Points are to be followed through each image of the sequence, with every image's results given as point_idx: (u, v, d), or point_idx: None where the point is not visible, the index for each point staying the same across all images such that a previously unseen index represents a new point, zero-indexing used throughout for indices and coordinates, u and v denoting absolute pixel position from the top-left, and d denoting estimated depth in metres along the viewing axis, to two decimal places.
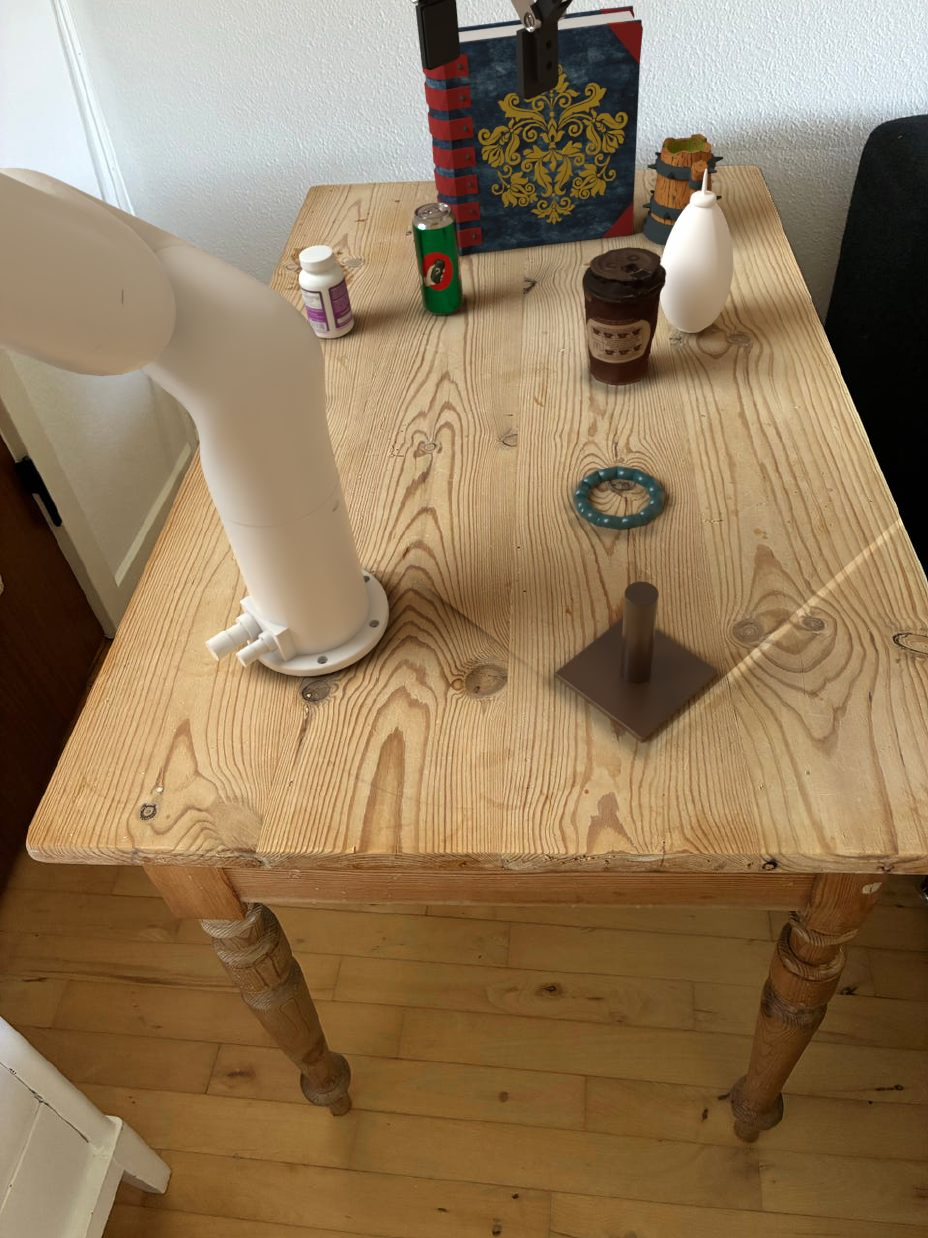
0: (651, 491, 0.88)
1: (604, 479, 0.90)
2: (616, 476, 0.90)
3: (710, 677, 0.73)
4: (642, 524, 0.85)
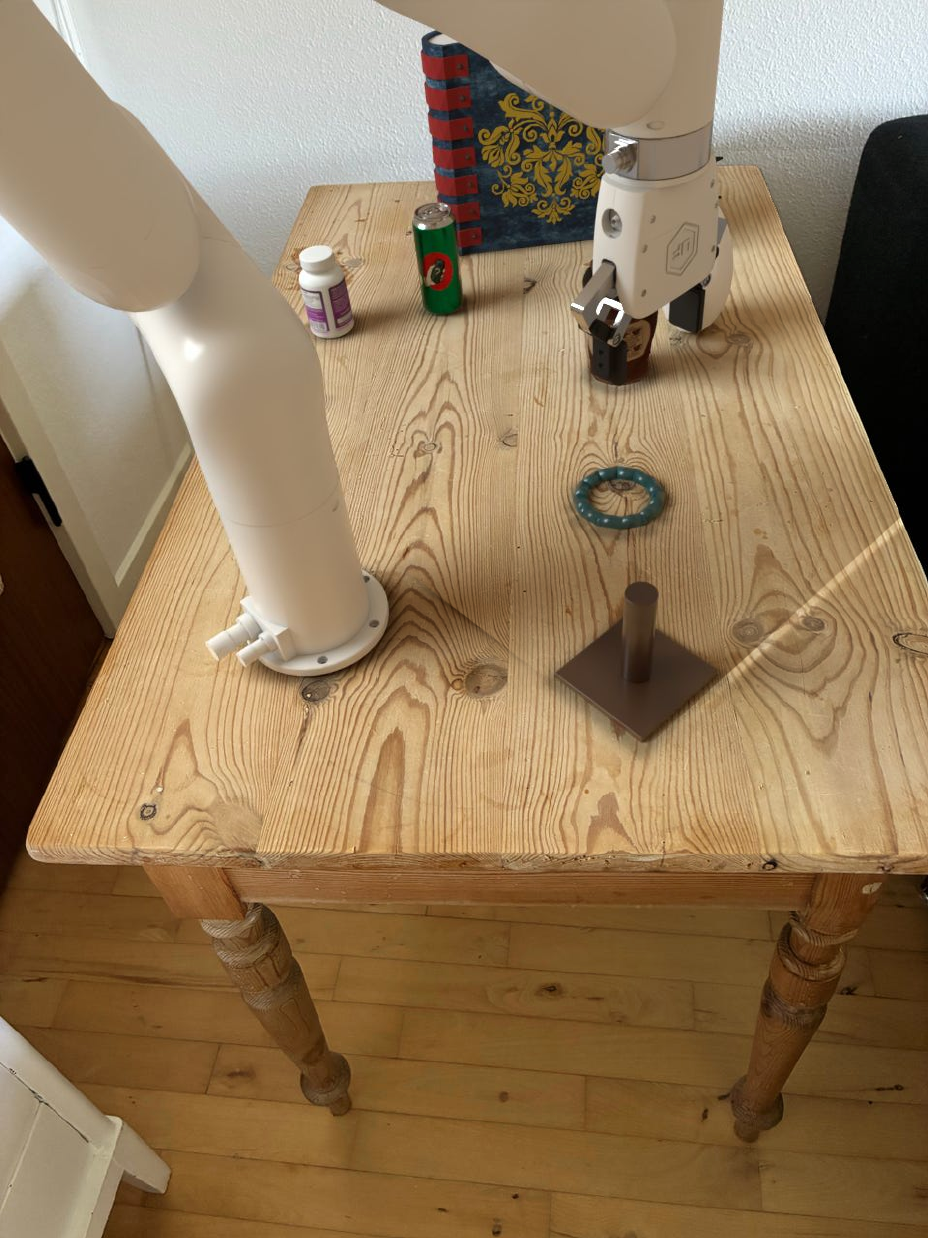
0: (651, 491, 0.88)
1: (604, 479, 0.90)
2: (616, 476, 0.90)
3: (710, 677, 0.73)
4: (642, 524, 0.85)
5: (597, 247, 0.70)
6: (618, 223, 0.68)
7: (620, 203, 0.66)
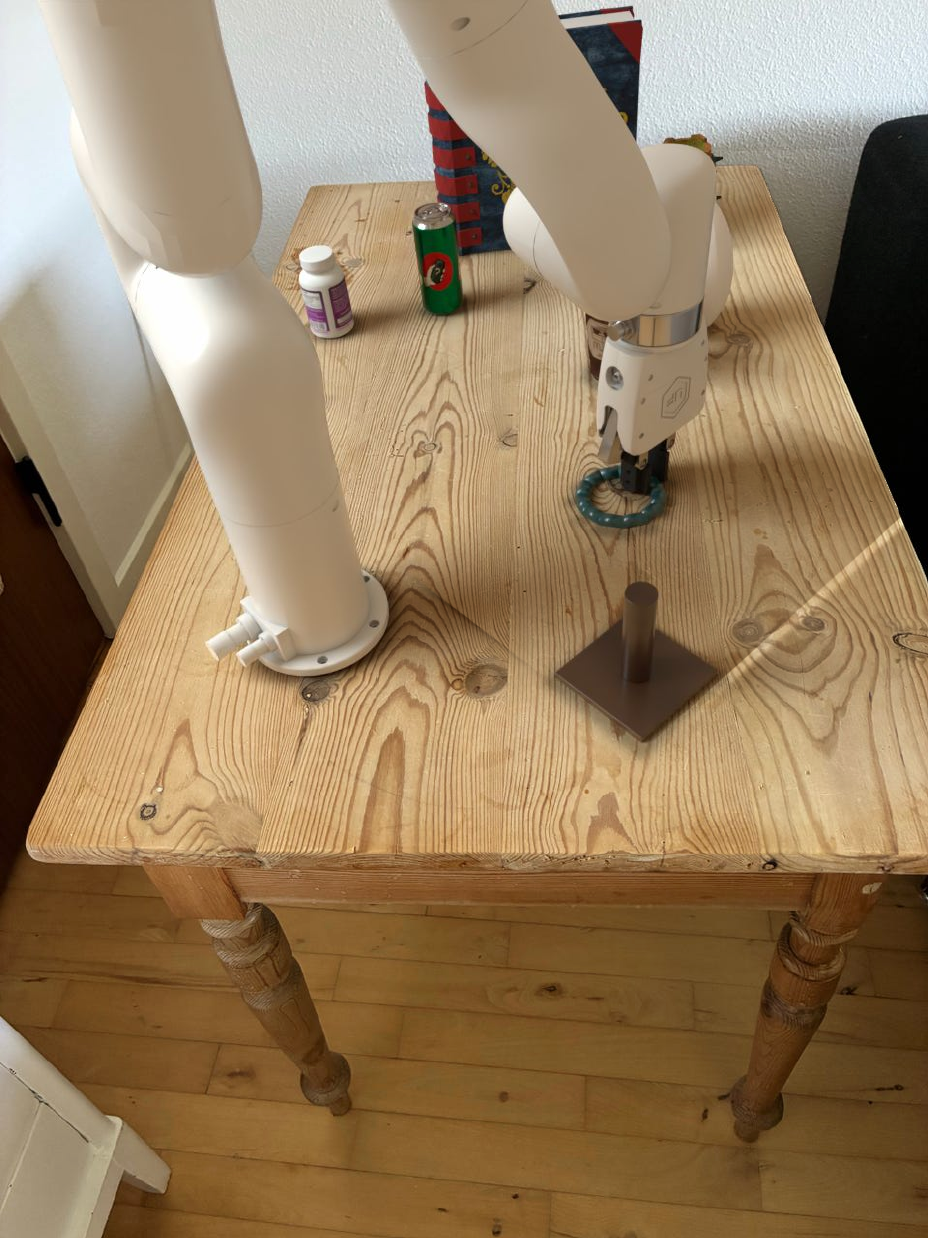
0: (652, 490, 0.88)
1: (605, 478, 0.90)
2: (617, 475, 0.90)
3: (710, 677, 0.73)
4: (643, 523, 0.86)
5: (601, 395, 0.80)
6: (620, 378, 0.77)
7: (622, 363, 0.76)
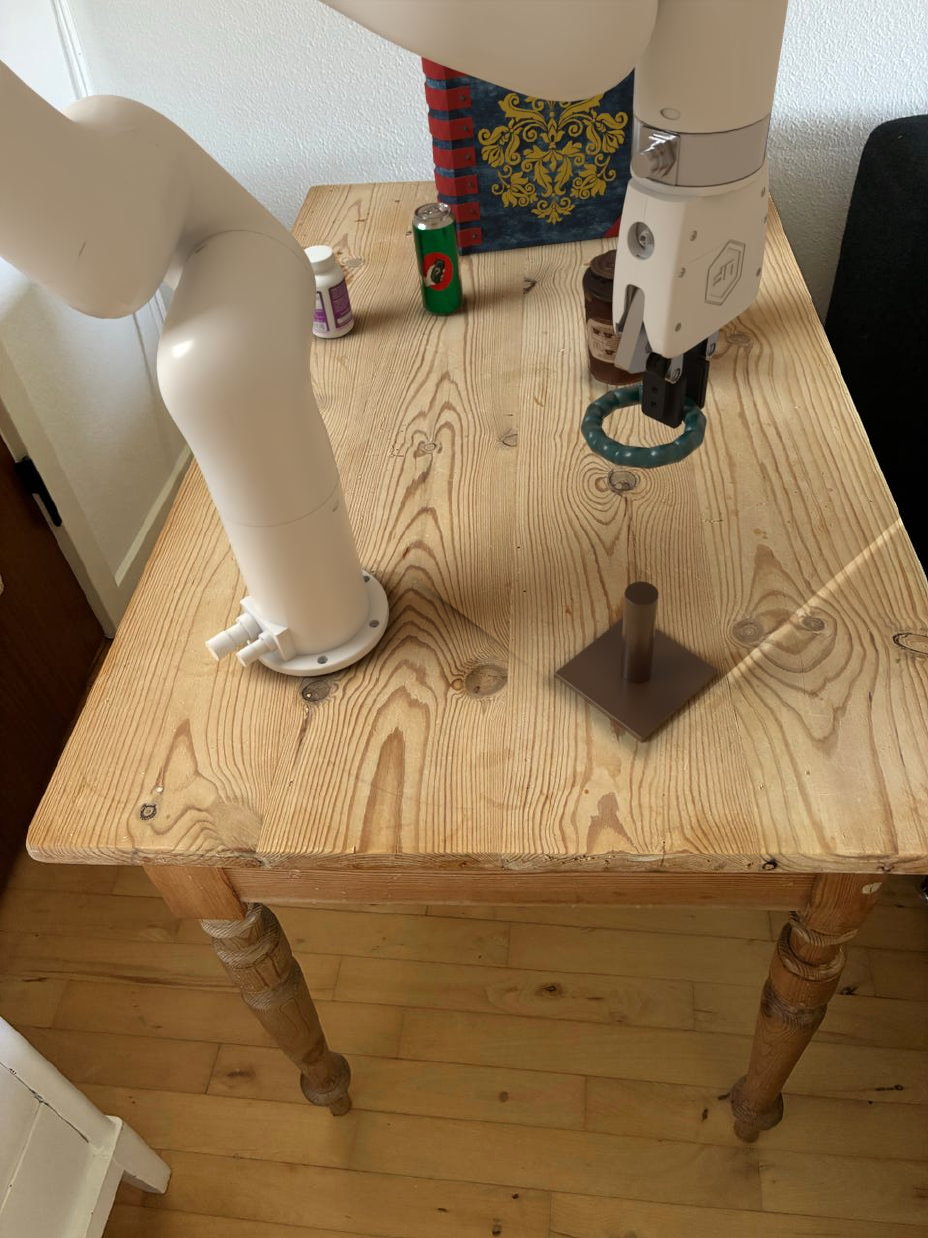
0: (687, 414, 0.65)
1: (622, 402, 0.67)
2: (638, 397, 0.67)
3: (710, 677, 0.73)
4: (678, 457, 0.62)
5: (620, 270, 0.56)
6: (649, 240, 0.54)
7: (653, 215, 0.53)
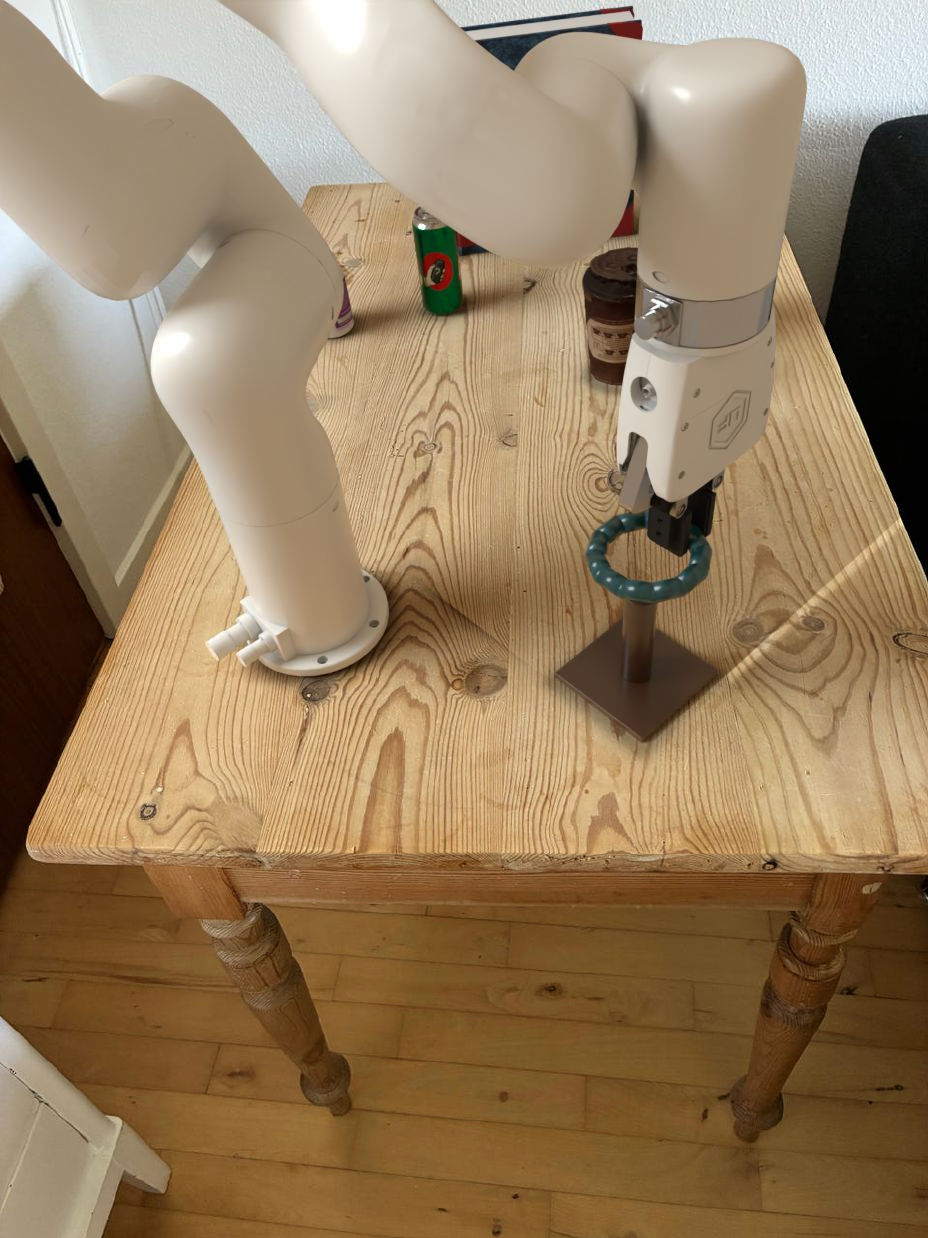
0: (692, 545, 0.64)
1: (627, 527, 0.66)
2: (643, 523, 0.66)
3: (710, 677, 0.73)
4: (681, 593, 0.62)
5: (624, 417, 0.56)
6: (652, 394, 0.54)
7: (655, 373, 0.52)
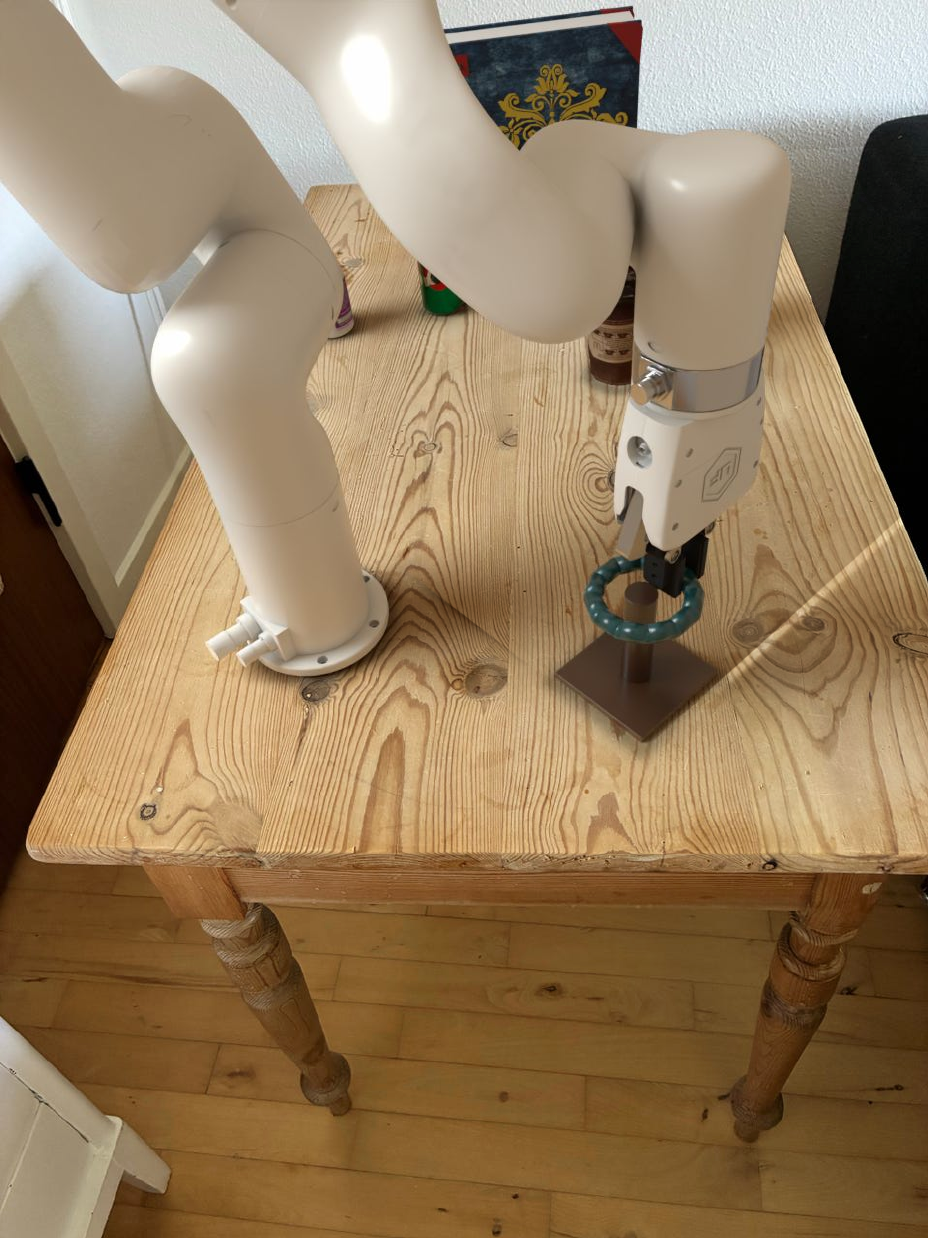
0: (686, 587, 0.67)
1: (624, 569, 0.69)
2: (639, 565, 0.69)
3: (710, 677, 0.73)
4: (675, 635, 0.65)
5: (621, 472, 0.59)
6: (647, 452, 0.57)
7: (651, 434, 0.55)
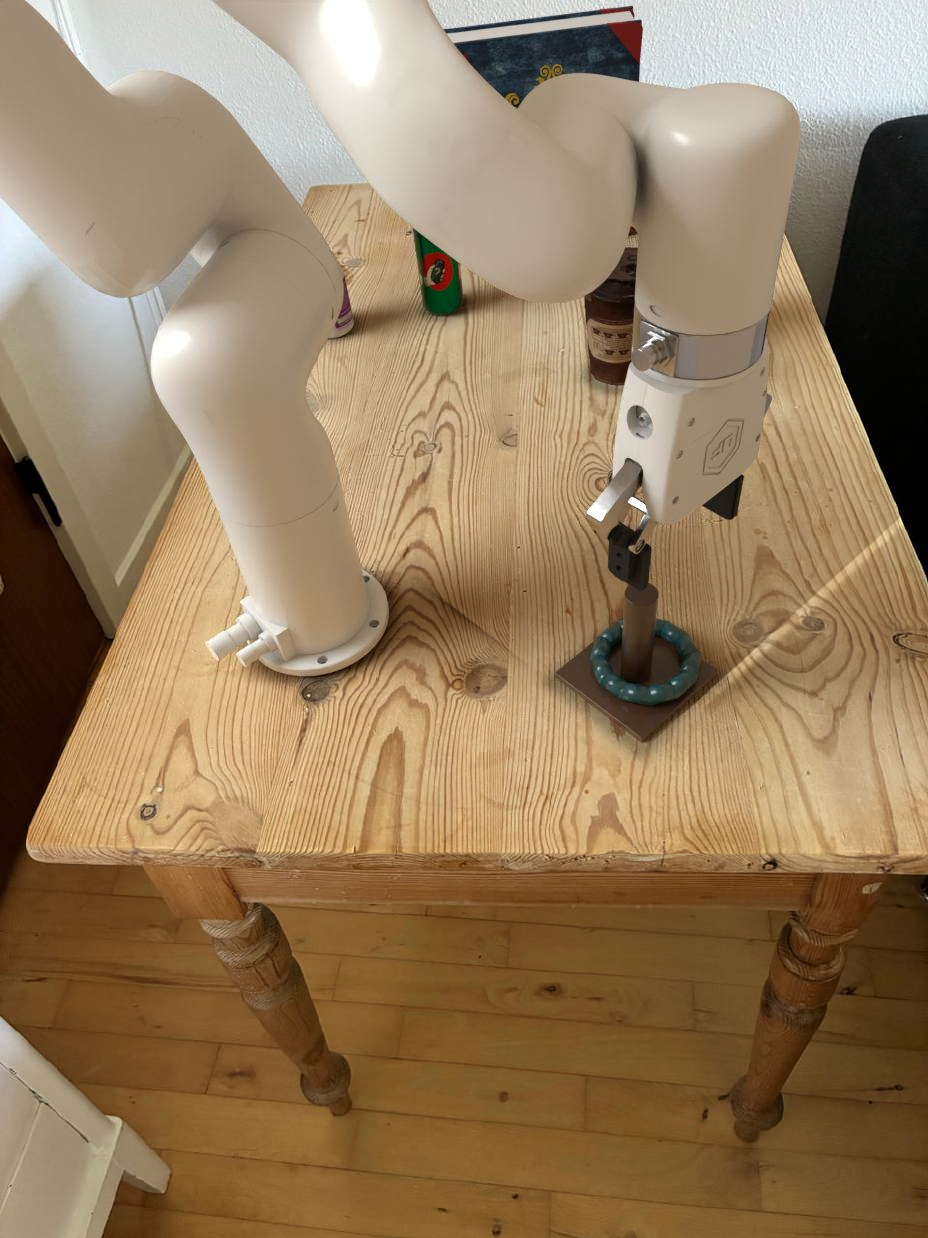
0: (684, 652, 0.73)
1: None
2: None
3: (710, 677, 0.73)
4: (674, 697, 0.71)
5: (620, 443, 0.57)
6: (648, 422, 0.55)
7: (652, 402, 0.54)
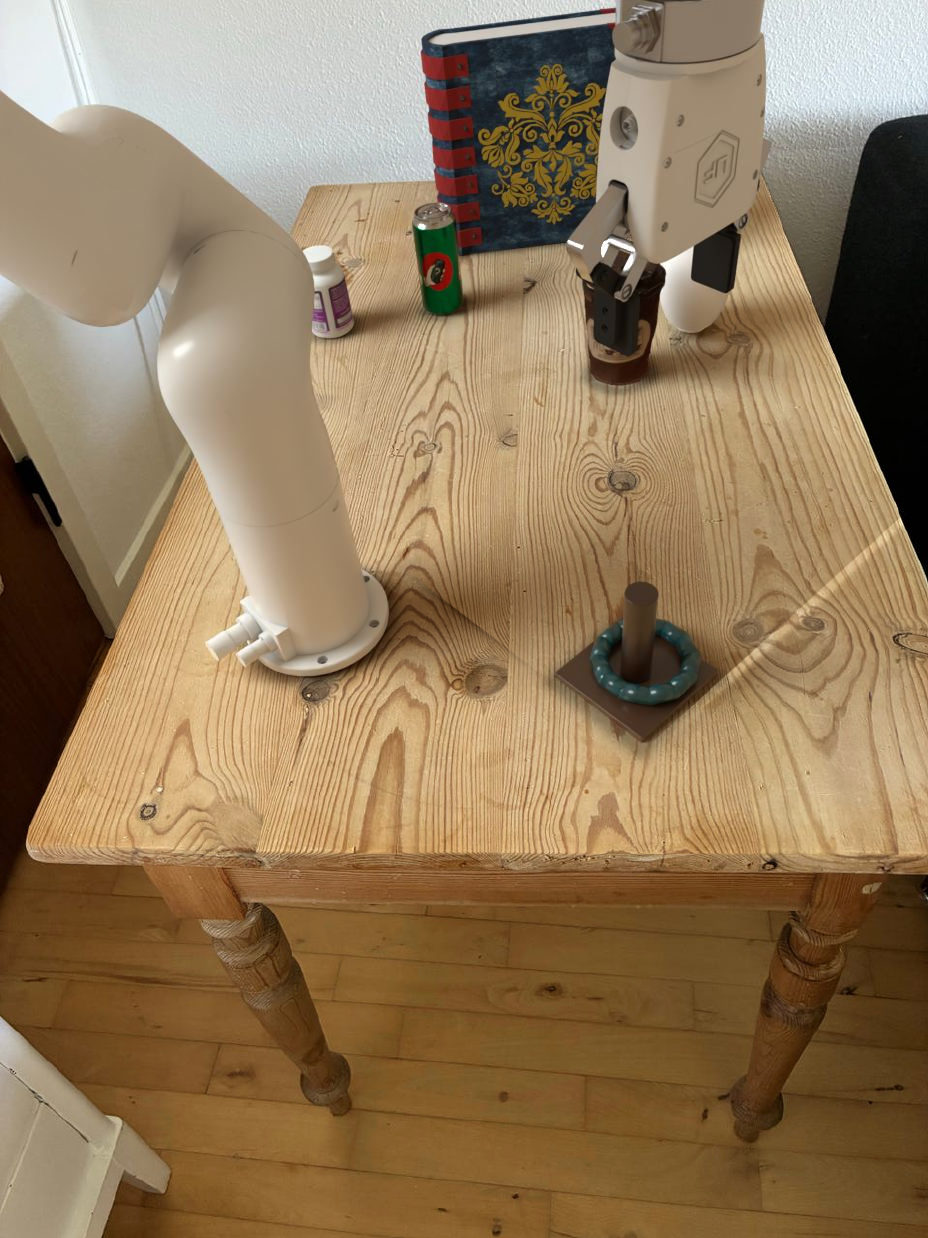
0: (684, 652, 0.73)
1: None
2: None
3: (710, 677, 0.73)
4: (674, 697, 0.71)
5: (603, 164, 0.52)
6: (632, 127, 0.50)
7: (636, 97, 0.48)
